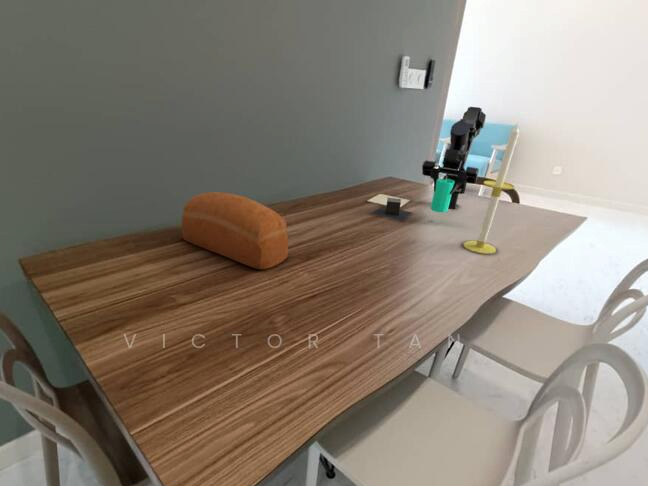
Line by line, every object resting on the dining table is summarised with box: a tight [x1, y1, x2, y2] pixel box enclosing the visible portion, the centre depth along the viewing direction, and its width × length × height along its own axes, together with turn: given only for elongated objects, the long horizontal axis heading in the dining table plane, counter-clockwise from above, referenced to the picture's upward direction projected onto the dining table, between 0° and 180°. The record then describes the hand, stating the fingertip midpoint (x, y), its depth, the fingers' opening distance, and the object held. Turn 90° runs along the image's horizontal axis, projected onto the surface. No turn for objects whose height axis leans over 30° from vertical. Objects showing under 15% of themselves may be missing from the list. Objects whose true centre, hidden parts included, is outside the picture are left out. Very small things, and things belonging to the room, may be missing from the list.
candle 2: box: [462, 120, 520, 255], centre depth 117 cm, size 10×10×38 cm
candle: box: [430, 177, 455, 214], centre depth 138 cm, size 6×6×12 cm
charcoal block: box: [385, 198, 401, 216], centre depth 150 cm, size 5×5×5 cm
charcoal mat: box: [371, 205, 413, 221], centre depth 151 cm, size 12×12×1 cm
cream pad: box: [367, 193, 411, 208], centre depth 165 cm, size 14×14×1 cm
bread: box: [181, 191, 289, 270], centre depth 111 cm, size 14×33×16 cm, turn 54°
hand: (442, 192), depth 137 cm, fingers closed on candle, 5 cm apart
